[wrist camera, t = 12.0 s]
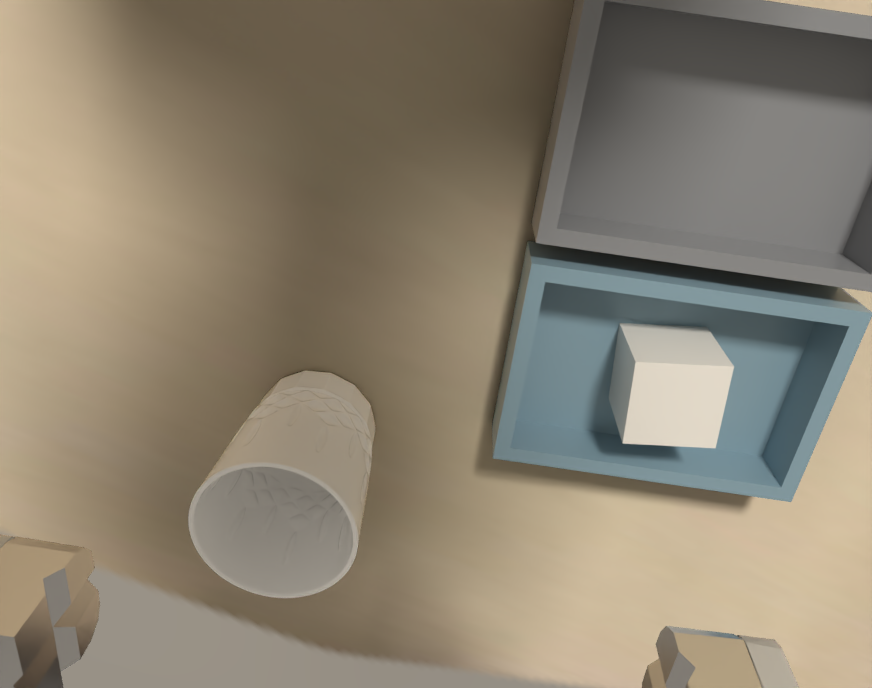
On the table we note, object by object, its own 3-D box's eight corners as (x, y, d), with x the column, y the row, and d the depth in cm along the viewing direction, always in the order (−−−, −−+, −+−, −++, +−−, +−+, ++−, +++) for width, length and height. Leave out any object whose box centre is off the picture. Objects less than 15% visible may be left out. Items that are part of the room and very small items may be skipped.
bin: (527, 240, 36) (531, 263, 33) (839, 286, 36) (873, 313, 33) (492, 423, 41) (492, 458, 38) (767, 463, 41) (791, 501, 38)
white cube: (619, 323, 37) (635, 361, 33) (707, 327, 37) (734, 366, 33) (608, 397, 39) (622, 443, 35) (691, 402, 39) (715, 448, 35)
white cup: (328, 497, 44) (288, 624, 35) (225, 420, 42) (154, 533, 33) (413, 419, 41) (393, 535, 32) (307, 333, 39) (254, 431, 30)
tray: (578, -23, 31) (589, -25, 28) (942, 30, 31) (994, 33, 28) (531, 221, 36) (535, 242, 33) (846, 267, 36) (881, 293, 33)
